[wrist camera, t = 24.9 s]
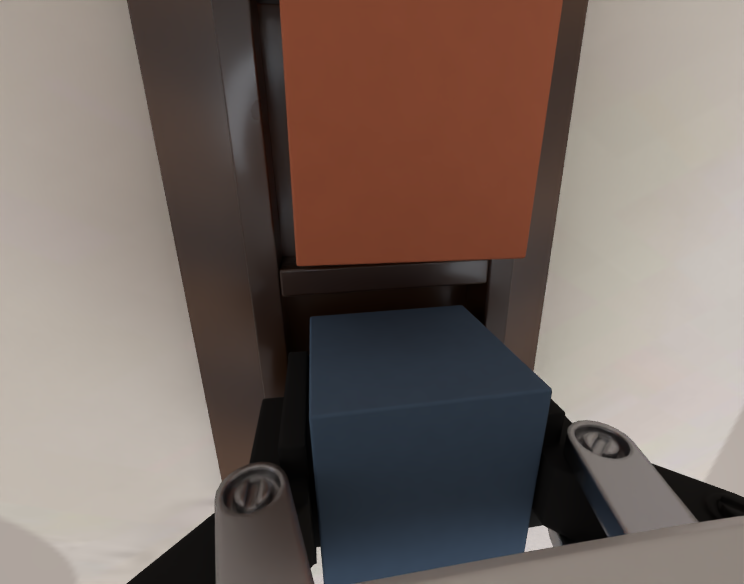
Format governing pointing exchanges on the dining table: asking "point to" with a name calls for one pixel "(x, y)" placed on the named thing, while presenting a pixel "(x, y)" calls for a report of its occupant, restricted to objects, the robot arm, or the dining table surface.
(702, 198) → the dining table surface
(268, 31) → the dark brown flat tray
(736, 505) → the robot arm
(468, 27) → the orange-brown block
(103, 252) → the dining table surface
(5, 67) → the dining table surface
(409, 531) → the blue block
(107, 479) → the dining table surface
